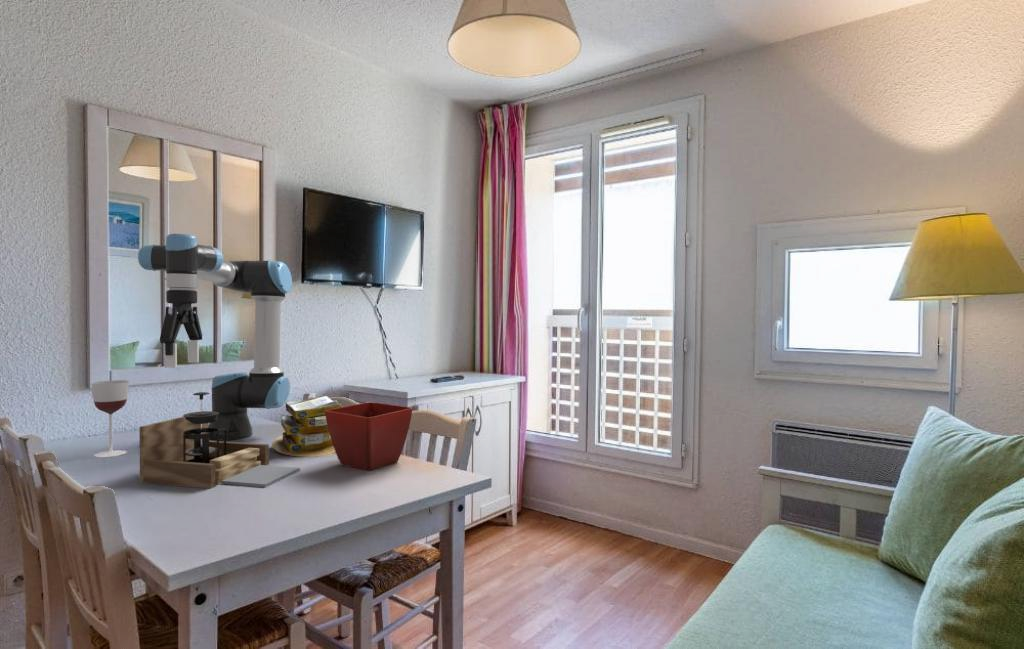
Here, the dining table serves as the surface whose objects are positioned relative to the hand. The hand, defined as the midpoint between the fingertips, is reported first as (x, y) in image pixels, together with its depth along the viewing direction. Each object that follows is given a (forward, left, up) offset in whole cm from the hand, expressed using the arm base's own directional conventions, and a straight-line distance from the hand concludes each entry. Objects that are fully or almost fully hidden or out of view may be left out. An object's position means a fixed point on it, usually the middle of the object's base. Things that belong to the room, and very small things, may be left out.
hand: (182, 365), depth 158 cm
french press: (-3, +5, -31) cm, 32 cm away
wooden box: (-3, +6, -31) cm, 32 cm away
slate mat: (-3, +24, -31) cm, 39 cm away
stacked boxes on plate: (-37, +18, -31) cm, 51 cm away
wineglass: (-14, -39, -31) cm, 52 cm away
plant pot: (-23, +46, -31) cm, 60 cm away
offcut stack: (-3, +15, -31) cm, 34 cm away
